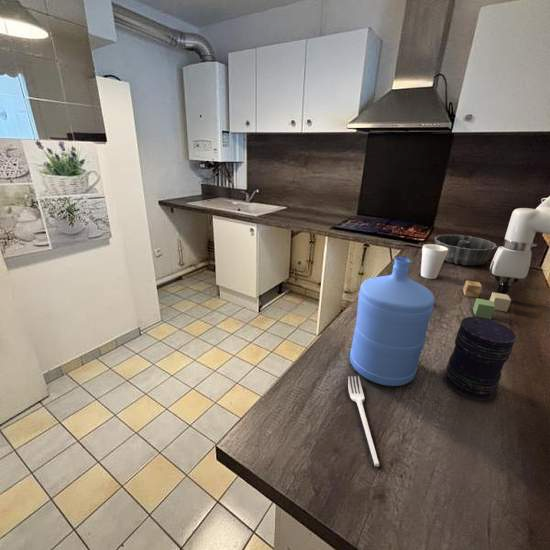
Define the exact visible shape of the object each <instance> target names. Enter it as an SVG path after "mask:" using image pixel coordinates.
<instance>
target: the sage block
mask: <svg viewBox="0 0 550 550" xmlns="http://www.w3.org/2000/svg"><path fill="white" fill-rule="evenodd" d="M495 311H496V310H495V305H494V303H493V301H490V299H484V298H476V297H475V302H474V305H473V308H472V312H473V315H474V317H481V318H486V319H490V320H492V318H493V315H494V312H495Z"/></svg>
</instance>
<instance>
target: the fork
mask: <svg viewBox="0 0 550 550" xmlns="http://www.w3.org/2000/svg"><path fill="white" fill-rule="evenodd" d="M347 379H348V381H347V387H348V389H347V390H348V394H349V397H350V399H351V401H352V402H355V403H356V405H357V408H358V412H359V416H360V419H361V422H362V423H361V424H362V426H363V430H364V434H365V437H366V439H367V440H366V441H367V444H368V447H369V451H370V454H371V457H372V461H373V465H374V467H377V468H379V467H380V461H379V459H378V458H379V457H378V455H377V452H376V448H375V444H374V440H373V437H372V434H371V429H370V426H369V423H368V419H367V417H366V416H367V414H366V412H365V408H364V402H365V399H366V398H365V394H364V391H363V387H362V383H361V379H360V376H359V375H358V376H357V377H356V375H354V377H353V375H351V377H350V375H348V377H347ZM357 381H358V383H357Z"/></svg>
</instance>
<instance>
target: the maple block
mask: <svg viewBox="0 0 550 550" xmlns="http://www.w3.org/2000/svg"><path fill="white" fill-rule="evenodd" d="M482 288H483V286H482V284H481V283H480V281H472V280H465V281H464V285H463V289H462V293H463V295H464V296H465V297H471V298H475V299H476V298H478V299H480V298H479V297H480V294H481V292H482Z"/></svg>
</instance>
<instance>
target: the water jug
mask: <svg viewBox="0 0 550 550" xmlns="http://www.w3.org/2000/svg"><path fill="white" fill-rule="evenodd" d="M393 261H394V264H393V265H392V273H391V274H387V275H380V276H374V277H369V278H368V279H365V280H363V282H362V283H361V284H360V289H359V292H358V298H357V308H356V309H357V310H356V321H355V326H354V333H353V335H352V341H351V343H352V344H351V348H350V353H349V360H350V363H351V366H352V367H353V369H354V370H355V372H357V373H358V374H359V375H360V376H362V378H364V379H366V380H368V381H370V382H372V383H374V384H378V385H382V386H386V387H399V386H404V385H407V384H409V383H411V382H412V381H413V380H414V379H415V377H416V376H417V371H418V366H419V361H420V358H421V355H422V354H421V353H422V350H423V348H424V345H425V341H426V334H427V330H428V327H429V323H430V319H431V317H432V314H433V310H434V304H435V296H434V294H433V292H432V291H431V290H430V289H429V288H428V287H426V286H424V285H422V283H421V284H420V283H418V282H417V281H415V280H413V279H411V278H409V277H408V274H409V271H410V263H411V259H409V258H407V257H403V256H402V257H401V256H397V257H394V260H393Z"/></svg>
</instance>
